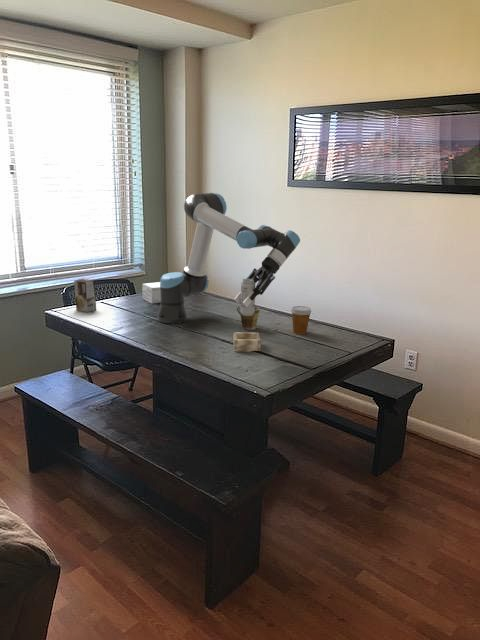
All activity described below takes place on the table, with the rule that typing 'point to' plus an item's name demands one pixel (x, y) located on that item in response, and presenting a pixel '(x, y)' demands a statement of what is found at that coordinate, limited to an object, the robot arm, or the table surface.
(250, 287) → the energy drink can
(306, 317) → the disposable coffee cup
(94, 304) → the coffee box
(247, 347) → the wooden box
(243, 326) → the ceramic cup
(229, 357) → the table surface
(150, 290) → the supplement box
